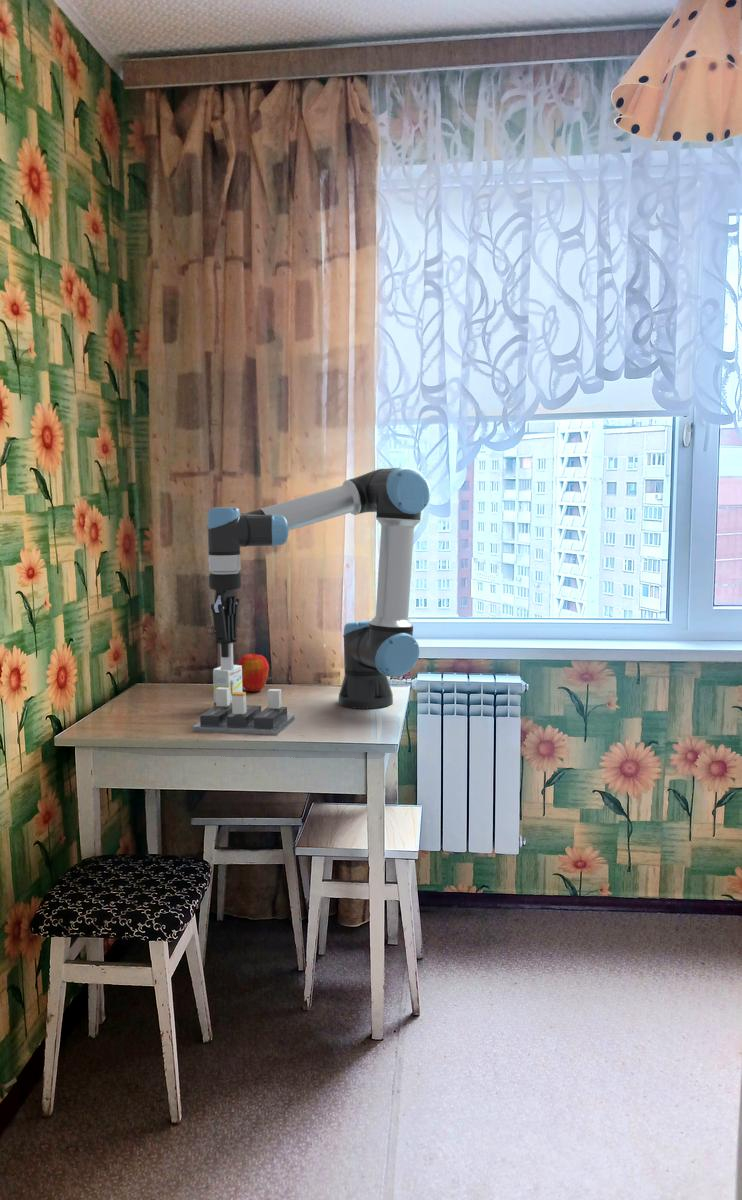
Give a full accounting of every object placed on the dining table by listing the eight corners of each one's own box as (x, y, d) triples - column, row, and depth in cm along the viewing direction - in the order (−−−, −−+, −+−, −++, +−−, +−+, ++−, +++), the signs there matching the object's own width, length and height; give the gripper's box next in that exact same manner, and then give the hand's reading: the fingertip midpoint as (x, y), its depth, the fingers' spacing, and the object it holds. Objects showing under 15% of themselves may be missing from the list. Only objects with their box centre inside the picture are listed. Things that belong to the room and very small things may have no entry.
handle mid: (246, 712, 229) (246, 692, 229) (243, 714, 227) (243, 694, 227) (235, 711, 230) (234, 691, 229) (232, 713, 228) (231, 693, 227)
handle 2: (281, 706, 235) (281, 689, 234) (279, 708, 233) (278, 691, 232) (270, 706, 235) (269, 688, 235) (268, 707, 233) (267, 690, 233)
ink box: (229, 714, 244) (228, 670, 243) (213, 712, 246) (211, 669, 244) (244, 706, 252) (242, 664, 251) (228, 705, 254) (226, 663, 253)
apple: (233, 694, 268) (232, 653, 266) (243, 687, 276) (242, 648, 275) (264, 695, 266) (263, 654, 264) (273, 688, 275) (272, 649, 273)
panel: (294, 719, 238) (294, 705, 237) (277, 734, 223) (276, 719, 223) (214, 716, 242) (214, 702, 242) (192, 731, 227) (192, 716, 227)
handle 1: (229, 704, 237) (229, 687, 237) (227, 706, 236) (226, 689, 235) (219, 704, 238) (218, 687, 238) (216, 706, 236) (215, 688, 236)
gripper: (219, 569, 225) (222, 664, 228) (199, 574, 212) (202, 674, 215) (248, 570, 223) (251, 665, 226) (229, 575, 210) (232, 675, 213)
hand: (227, 669), depth 220 cm, fingers closed
